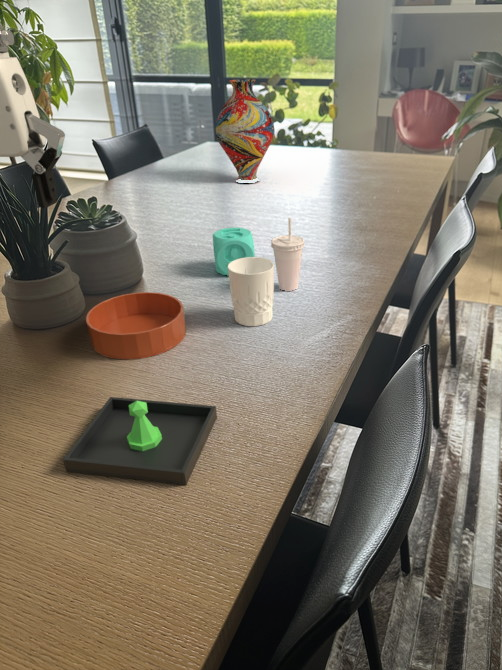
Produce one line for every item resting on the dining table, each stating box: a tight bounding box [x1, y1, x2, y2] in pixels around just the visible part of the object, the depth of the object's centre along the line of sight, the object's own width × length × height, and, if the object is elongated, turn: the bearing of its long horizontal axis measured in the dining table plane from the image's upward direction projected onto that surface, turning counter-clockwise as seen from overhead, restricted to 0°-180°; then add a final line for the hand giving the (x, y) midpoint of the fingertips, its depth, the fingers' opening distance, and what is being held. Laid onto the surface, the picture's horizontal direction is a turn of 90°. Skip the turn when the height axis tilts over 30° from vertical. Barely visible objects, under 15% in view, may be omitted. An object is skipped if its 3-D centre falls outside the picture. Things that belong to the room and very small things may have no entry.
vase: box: [215, 78, 275, 180], centre depth 176 cm, size 19×19×30 cm
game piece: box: [127, 401, 162, 451], centre depth 68 cm, size 4×4×6 cm
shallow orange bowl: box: [85, 291, 187, 360], centre depth 93 cm, size 16×16×4 cm
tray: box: [62, 396, 218, 486], centre depth 69 cm, size 15×13×2 cm
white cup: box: [228, 256, 275, 327], centre depth 96 cm, size 8×8×10 cm
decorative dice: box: [212, 227, 256, 277], centre depth 116 cm, size 8×8×8 cm
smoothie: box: [270, 217, 305, 292], centre depth 106 cm, size 6×6×14 cm
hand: (13, 204), depth 68 cm, fingers open, 9 cm apart
